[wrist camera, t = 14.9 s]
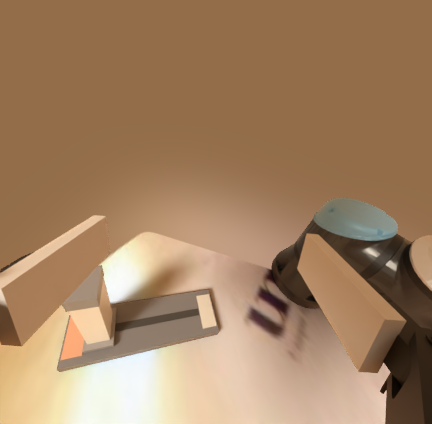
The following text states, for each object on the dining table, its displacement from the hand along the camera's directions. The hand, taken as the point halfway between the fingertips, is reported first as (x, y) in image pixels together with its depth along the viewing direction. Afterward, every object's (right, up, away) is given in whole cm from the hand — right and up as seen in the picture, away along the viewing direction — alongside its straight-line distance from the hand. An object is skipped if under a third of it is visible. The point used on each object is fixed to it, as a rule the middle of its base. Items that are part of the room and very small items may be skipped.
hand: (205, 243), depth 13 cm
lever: (-18, -17, +19) cm, 31 cm away
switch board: (-11, -18, +22) cm, 31 cm away
